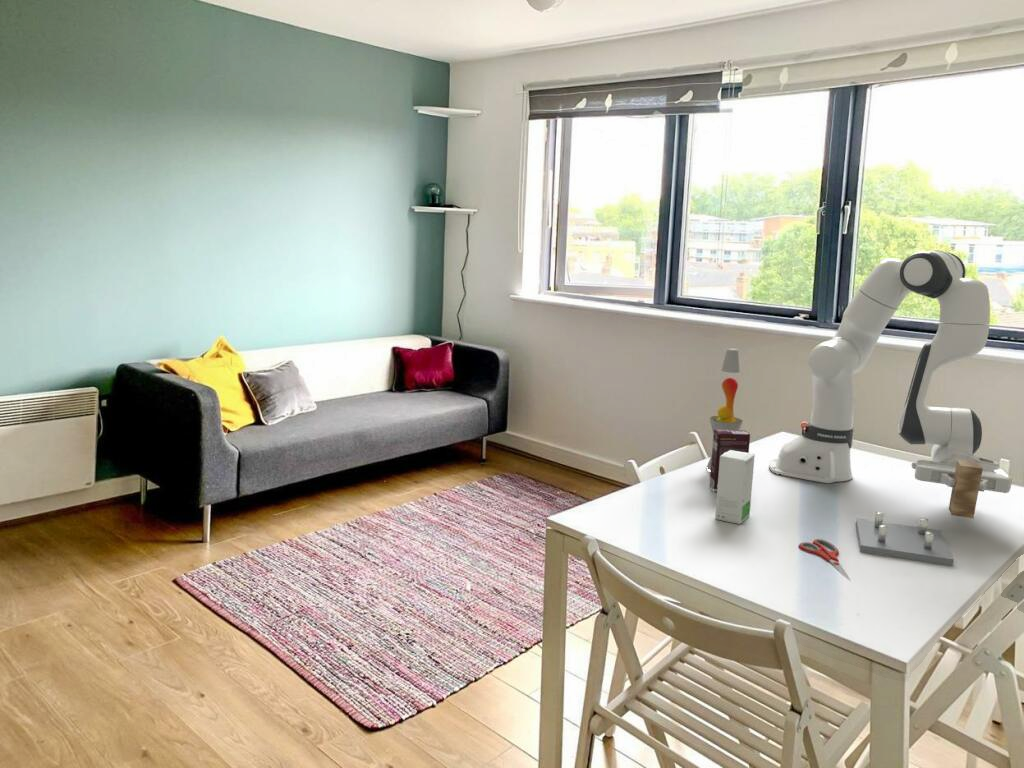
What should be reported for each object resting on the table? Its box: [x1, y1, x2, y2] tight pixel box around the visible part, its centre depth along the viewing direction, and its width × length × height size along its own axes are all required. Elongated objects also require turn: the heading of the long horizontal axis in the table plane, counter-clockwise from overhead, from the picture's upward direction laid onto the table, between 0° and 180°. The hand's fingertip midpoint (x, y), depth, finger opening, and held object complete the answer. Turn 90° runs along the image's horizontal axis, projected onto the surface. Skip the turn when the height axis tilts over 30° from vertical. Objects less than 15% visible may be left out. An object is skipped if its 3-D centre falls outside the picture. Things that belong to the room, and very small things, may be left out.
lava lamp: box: [706, 347, 743, 470], centre depth 230 cm, size 9×9×35 cm
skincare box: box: [714, 450, 756, 525], centre depth 195 cm, size 8×7×16 cm
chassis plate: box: [855, 518, 954, 567], centre depth 184 cm, size 18×18×2 cm
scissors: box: [798, 538, 851, 582], centre depth 172 cm, size 8×21×2 cm, turn 13°
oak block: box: [948, 460, 983, 519], centre depth 190 cm, size 4×4×12 cm
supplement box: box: [709, 429, 751, 492], centre depth 216 cm, size 9×5×16 cm, turn 92°
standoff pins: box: [874, 511, 934, 550], centre depth 183 cm, size 11×11×4 cm
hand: (966, 485), depth 189 cm, fingers closed on oak block, 4 cm apart
